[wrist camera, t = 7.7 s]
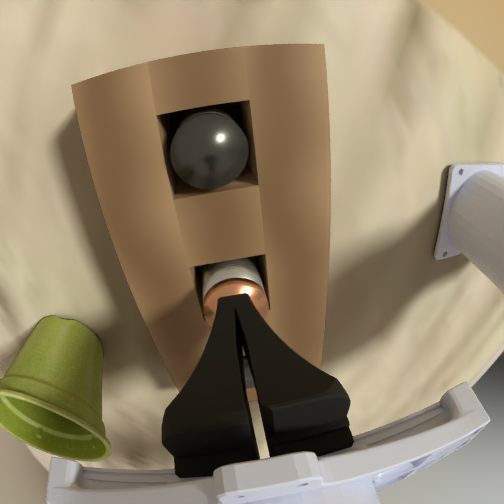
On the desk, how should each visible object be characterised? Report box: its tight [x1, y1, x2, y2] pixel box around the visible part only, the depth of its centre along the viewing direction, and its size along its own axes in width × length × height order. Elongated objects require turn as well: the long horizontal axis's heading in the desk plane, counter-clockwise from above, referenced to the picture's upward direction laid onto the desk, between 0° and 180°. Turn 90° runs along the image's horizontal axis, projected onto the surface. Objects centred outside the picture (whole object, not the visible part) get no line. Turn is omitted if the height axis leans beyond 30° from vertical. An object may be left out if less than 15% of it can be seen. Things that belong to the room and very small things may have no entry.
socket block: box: [71, 44, 331, 402], centre depth 17 cm, size 10×22×4 cm, turn 6°
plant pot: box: [0, 316, 111, 461], centre depth 17 cm, size 9×9×9 cm
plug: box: [170, 107, 249, 189], centre depth 13 cm, size 3×3×4 cm
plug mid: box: [202, 256, 269, 327], centre depth 16 cm, size 3×3×4 cm
